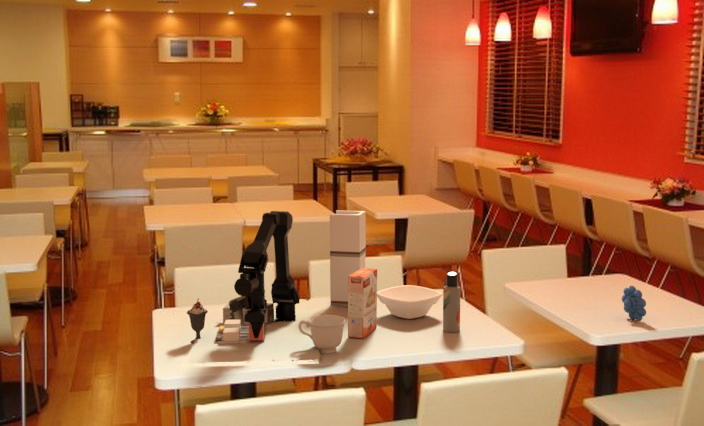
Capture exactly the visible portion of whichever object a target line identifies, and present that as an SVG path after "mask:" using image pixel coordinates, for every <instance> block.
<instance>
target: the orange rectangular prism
mask: <svg viewBox="0 0 704 426" xmlns="http://www.w3.org/2000/svg"><path fill="white" fill-rule="evenodd" d="M248 325H249V340H264V325H265V324H264V323H263V325H262V328H261V331H260V333H259V336H258V338H254V334H253V330H252V327H251V324H250V323H249V324H248ZM264 341H265V340H264Z"/></svg>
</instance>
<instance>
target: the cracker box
mask: <svg viewBox="0 0 704 426" xmlns="http://www.w3.org/2000/svg"><path fill="white" fill-rule="evenodd" d="M377 292H378V268H371V267H365V268H361V269H359V270H358V271H356V272H354V273H353V274H351V275H349V276H348V307H347V337H348V338H354V339H355V338H356V339H364V338H366V337H367V336H368V335H370V333H371V332H373V331H374V330H375V329H376V328H377V323H378V322H377V318H378V317H377V315H378V314H377V313H378V311H377V309H378V308H377V307H378V306H377V305H378V301H377V300H378V297H377Z"/></svg>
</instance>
